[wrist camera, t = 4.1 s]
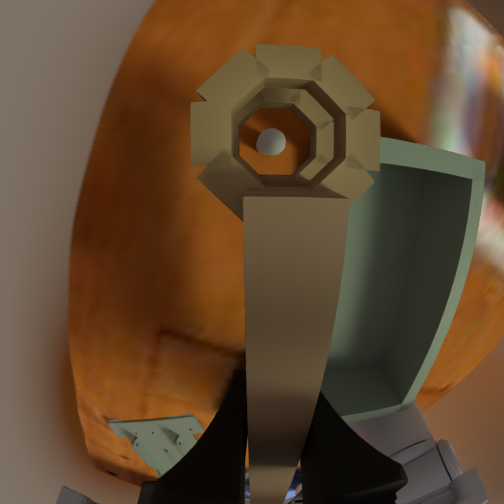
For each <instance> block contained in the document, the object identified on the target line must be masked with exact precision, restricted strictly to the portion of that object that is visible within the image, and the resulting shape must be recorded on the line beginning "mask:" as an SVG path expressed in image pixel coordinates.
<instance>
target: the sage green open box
mask: <svg viewBox="0 0 504 504" xmlns="http://www.w3.org/2000/svg"><path fill="white" fill-rule="evenodd" d="M285 144H286V139H285V136H284V135H283V133H282V132H281V131H279V130H277V129H274V128H269V129H266V130H264V131H263V132H261V134H260V135H259V137H258V140H257V142H256V148H257V150H258V152H260V153H261V154H265V155H276V154H279V153H280V152H282V151H283V149H284V148H285ZM485 165H486V162H484V161H481V160H478V159H474V158H471V157H468V156H465V155H461V154H458V153H454V152H450V151H447V150H443V149H439V148H435V147H430V146H426V145H422V144H417V143H412V142H407V141H402V140H397V139H391V138H385V137H380V170H379V171H374V170H366V171H367V172H368V174H369V175H370V176H371V178H372V179H373V180H374V183H373V184H372V185H371V186H370V187H369V188H368V189H367V190H366V191H365V192H364V193H363V194H362V195H361V196H360V197H359V198H358V199H357V200H356V201H355V202H354V203H352V204H351V205H350V206H349V218H348V229H347V239H346V248H345V257H344V265H343V273H342V280H341V287H340V293H339V300H338V306H337V312H336V318H335V323H334V329H333V334H332V339H331V344H330V349H329V353H328V358H327V363H326V367H325V371H324V376H323V380H322V384H321V388H320V390H321V391H322V393H323V394H324V396H325V397H326V399H327V400H328V401H329V403H330V404H331V406H332V407H333V408H334V409H335V411H336V412H337V413H338V414H339V415H340V417H341V418H342V419H343V420H344V421H345V422H346V423H349V422H355V421H360V420H365V419H370V418H375V417H380V416H384V415H388V414H392V413H396V412H400V411H404V410H407V409H408V408H409V407H410V405H411V403H412V402H413V400H414V398H415V397H416V395H417V393H418V391H419V390H420V388H421V386H422V384H423V382H424V381H425V379H426V377H427V375H428V373H429V371H430V369H431V367H432V365H433V363H434V361H435V359H436V357H437V355H438V353H439V350H440V348H441V346H442V344H443V342H444V339H445V337H446V334H447V332H448V330H449V327H450V325H451V322H452V319H453V317H454V314H455V311H456V309H457V306H458V303H459V300H460V297H461V294H462V291H463V288H464V284H465V281H466V278H467V274H468V270H469V267H470V263H471V259H472V255H473V251H474V246H475V242H476V237H477V232H478V226H479V220H480V214H481V207H482V200H483V191H484V180H485Z"/></svg>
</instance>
